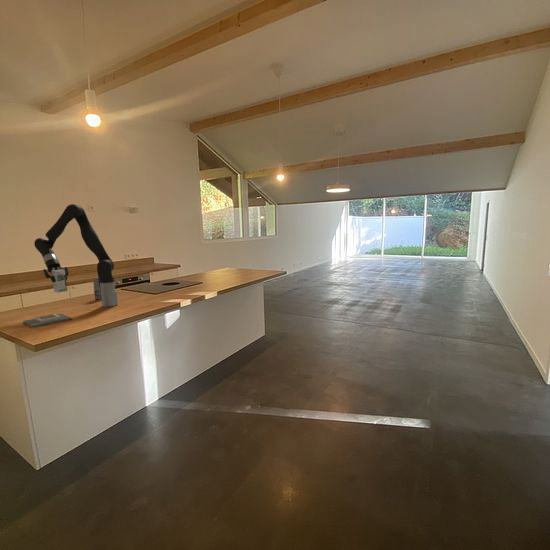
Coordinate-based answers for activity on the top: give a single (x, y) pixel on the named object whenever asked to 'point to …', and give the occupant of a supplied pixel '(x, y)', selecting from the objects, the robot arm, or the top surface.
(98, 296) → the coffee box
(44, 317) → the base board
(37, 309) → the top surface
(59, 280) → the syrup box
